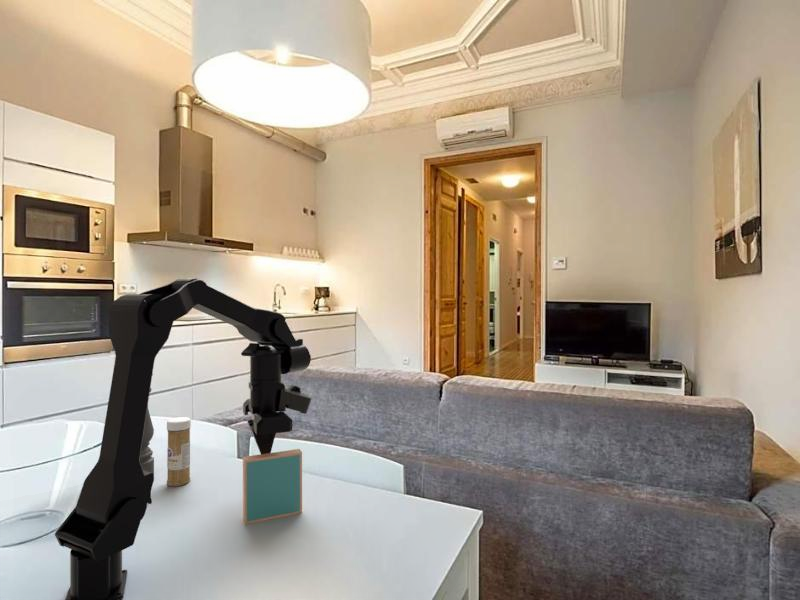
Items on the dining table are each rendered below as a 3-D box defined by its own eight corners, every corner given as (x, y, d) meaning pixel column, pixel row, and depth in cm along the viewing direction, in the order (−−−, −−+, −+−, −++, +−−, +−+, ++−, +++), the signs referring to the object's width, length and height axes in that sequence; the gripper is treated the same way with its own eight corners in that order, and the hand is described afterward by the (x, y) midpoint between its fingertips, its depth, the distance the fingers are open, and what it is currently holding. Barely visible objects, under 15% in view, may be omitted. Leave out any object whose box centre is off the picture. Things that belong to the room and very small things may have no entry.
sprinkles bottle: (161, 485, 96) (161, 420, 96) (179, 477, 101) (179, 415, 101) (178, 488, 95) (178, 422, 95) (195, 480, 99) (195, 417, 99)
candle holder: (117, 482, 98) (117, 364, 98) (126, 472, 104) (126, 360, 104) (150, 479, 99) (150, 363, 99) (157, 469, 105) (157, 359, 105)
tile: (302, 512, 84) (302, 452, 84) (244, 524, 80) (244, 460, 80) (299, 508, 86) (299, 448, 86) (242, 519, 81) (242, 456, 81)
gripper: (320, 382, 84) (320, 468, 84) (296, 368, 101) (296, 440, 101) (257, 387, 79) (257, 478, 79) (242, 372, 96) (242, 447, 96)
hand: (265, 459), depth 89 cm, fingers closed
